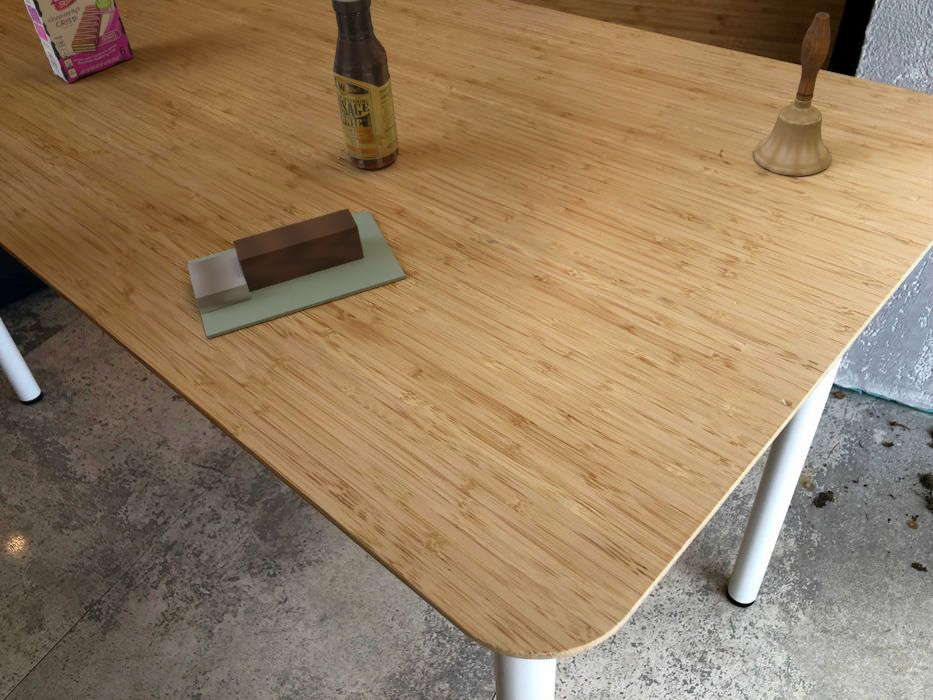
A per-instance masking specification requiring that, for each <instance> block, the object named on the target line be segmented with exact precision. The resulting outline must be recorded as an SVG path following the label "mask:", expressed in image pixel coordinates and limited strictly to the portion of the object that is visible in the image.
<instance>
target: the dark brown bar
mask: <svg viewBox="0 0 933 700" xmlns="http://www.w3.org/2000/svg"><path fill="white" fill-rule="evenodd" d="M232 243H233V246H234V248H235V249H236V251H233V252H230V253H226V254H223V255H219V256H216V257H213V258H209V259H206V260H202V261H199V262H195V263H192V264H188V263H187V265H186V266H187V271H188V274H189V278H190V282H191V287H192V290H193V293H194V297H195V301H196V303H197V306H198V309H199V312H200V311H201V312H200V314H201V313H202V314H203V313H207V312H210V311H213V310H217V309H220V308H223V307H227V306H230V305H233V304H237V303H240V302H243V301H247V300H250V299H252V298H251V295H250V292H251V291H255V290H258V289H261V288H265V287H268V286H271V285H275V284H278V283H281V282H285V281H288V280H291V279H295V278H298V277H301V276H305V275H308V274H311V273H315V272H318V271H321V270H325V269H328V268H331V267H335V266H338V265H342V264H345V263H348V262H352V261H355V260H358V259H362V258H364V254H363V250H362V245H361V240H360V235H359V230H358V226H357V224H356V222H355V220H354V218H353V217H352V213H351V211H350V209H349V208H344V209H339V210H337V211H334V212H333V211H332V212H329V213H327V214H323V215H319V216H316V217H312V218H309V219H305V220H301V221H297V222H294V223H290V224H287V225H284V226H281V227H277V228H274V229H269V230H267V231H263V232H260V233H256V234H252V235H249V236H246V237H242V238H239V239H235V240H233V241H232ZM249 291H250V292H249Z"/></svg>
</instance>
